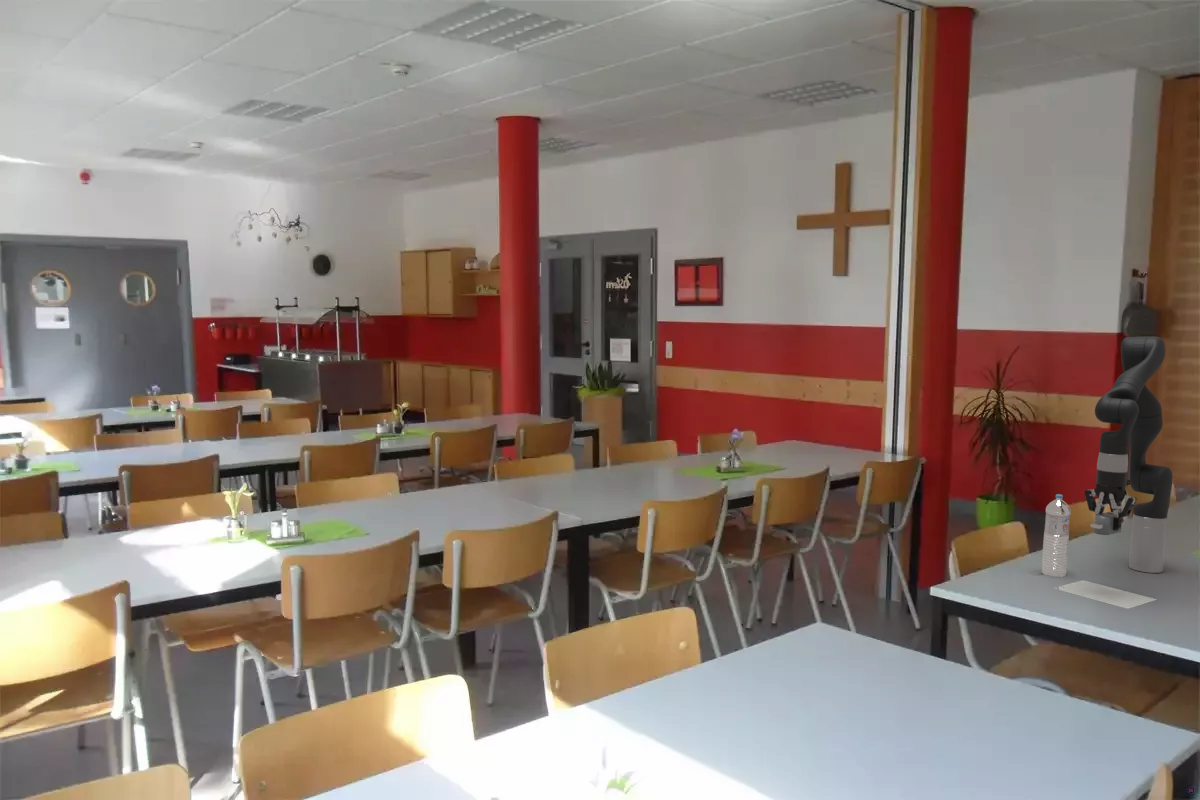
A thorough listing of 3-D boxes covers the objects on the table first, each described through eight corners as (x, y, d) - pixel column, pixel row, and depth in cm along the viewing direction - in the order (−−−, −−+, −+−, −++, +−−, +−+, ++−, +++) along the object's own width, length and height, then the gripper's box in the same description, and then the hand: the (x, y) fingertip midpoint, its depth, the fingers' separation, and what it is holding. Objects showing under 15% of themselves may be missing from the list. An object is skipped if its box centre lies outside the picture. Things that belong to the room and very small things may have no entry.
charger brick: (1109, 528, 265) (1110, 511, 265) (1123, 531, 262) (1125, 514, 261) (1087, 533, 258) (1088, 515, 258) (1101, 536, 255) (1102, 518, 255)
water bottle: (1052, 579, 276) (1058, 497, 274) (1036, 572, 283) (1041, 493, 281) (1071, 578, 278) (1077, 496, 276) (1054, 571, 285) (1060, 492, 282)
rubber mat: (1082, 582, 274) (1082, 580, 274) (1157, 601, 257) (1157, 599, 257) (1052, 590, 265) (1052, 588, 265) (1127, 610, 248) (1127, 608, 248)
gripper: (1145, 471, 255) (1140, 532, 257) (1094, 464, 267) (1089, 522, 269) (1131, 474, 251) (1126, 535, 253) (1080, 466, 263) (1075, 525, 264)
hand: (1107, 528), depth 261 cm, fingers closed on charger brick, 4 cm apart
